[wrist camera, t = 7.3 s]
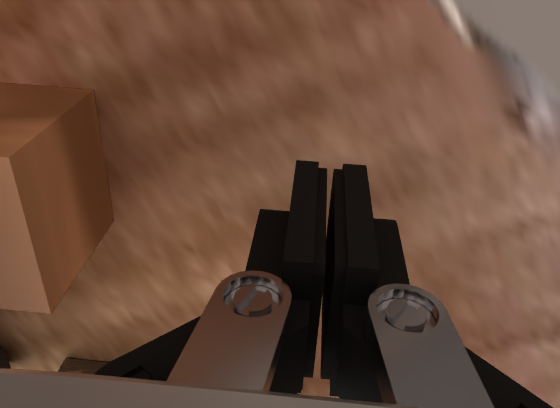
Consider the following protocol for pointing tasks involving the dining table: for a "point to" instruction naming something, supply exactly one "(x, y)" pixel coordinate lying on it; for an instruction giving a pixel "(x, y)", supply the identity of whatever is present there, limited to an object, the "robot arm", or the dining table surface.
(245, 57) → the dining table surface
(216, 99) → the dining table surface
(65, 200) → the light brown cube
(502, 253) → the dining table surface
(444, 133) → the dining table surface
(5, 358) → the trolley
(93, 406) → the robot arm
